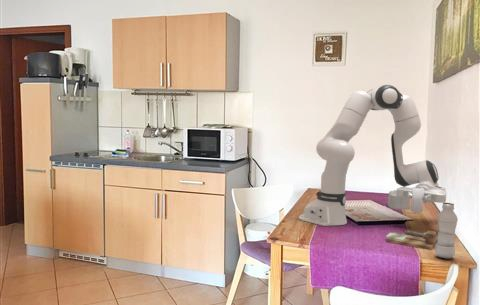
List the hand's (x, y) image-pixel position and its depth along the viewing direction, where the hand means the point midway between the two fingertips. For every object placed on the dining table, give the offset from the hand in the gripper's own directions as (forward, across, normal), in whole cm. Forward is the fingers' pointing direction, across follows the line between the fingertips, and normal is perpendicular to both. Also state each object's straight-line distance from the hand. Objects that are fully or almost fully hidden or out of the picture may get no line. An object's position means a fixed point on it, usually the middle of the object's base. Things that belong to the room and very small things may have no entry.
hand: (417, 197), depth 184 cm
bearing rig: (+11, +1, +16) cm, 20 cm away
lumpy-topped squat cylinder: (-51, -20, +16) cm, 57 cm away
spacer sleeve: (-1, 0, +6) cm, 6 cm away
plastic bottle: (+23, +15, +17) cm, 32 cm away
